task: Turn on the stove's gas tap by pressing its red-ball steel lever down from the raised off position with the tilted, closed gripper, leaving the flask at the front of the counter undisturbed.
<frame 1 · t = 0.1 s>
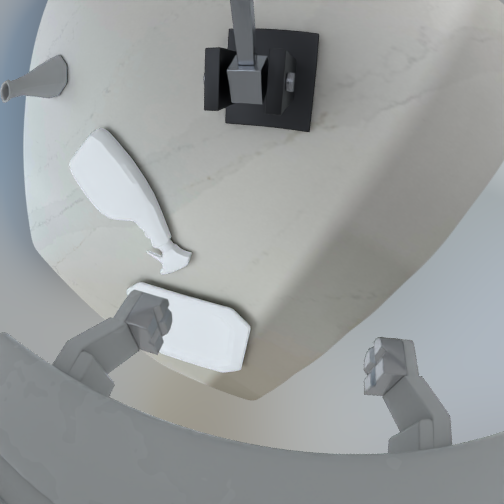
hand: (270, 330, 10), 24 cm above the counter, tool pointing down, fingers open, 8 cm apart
plate: (189, 327, 54), on the counter
flask: (55, 76, 26), on the counter
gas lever: (242, 5, 10), point 14 cm above the counter, hinge at 30.0°
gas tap: (271, 77, 24), on the counter
spray bottle: (135, 203, 38), on the counter
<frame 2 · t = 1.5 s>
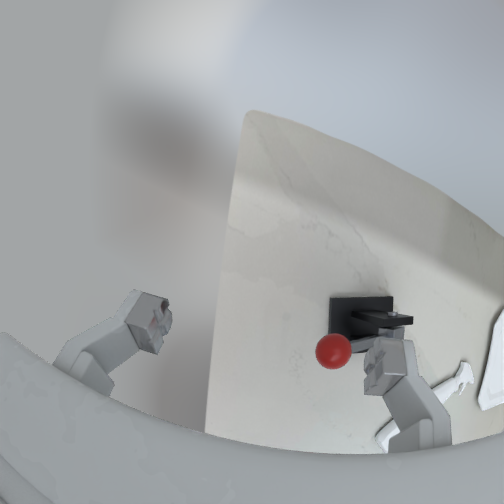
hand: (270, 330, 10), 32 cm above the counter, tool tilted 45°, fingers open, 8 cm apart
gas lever: (365, 343, 27), point 14 cm above the counter, hinge at 30.0°
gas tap: (360, 324, 41), on the counter
spray bottle: (427, 407, 39), on the counter
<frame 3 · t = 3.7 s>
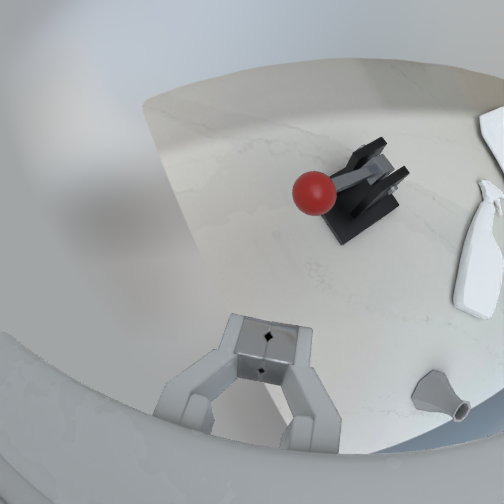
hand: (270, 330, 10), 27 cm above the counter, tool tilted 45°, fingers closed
flask: (429, 390, 32), on the counter
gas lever: (350, 179, 24), point 14 cm above the counter, hinge at 30.0°
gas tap: (353, 200, 37), on the counter
spray bottle: (482, 245, 34), on the counter
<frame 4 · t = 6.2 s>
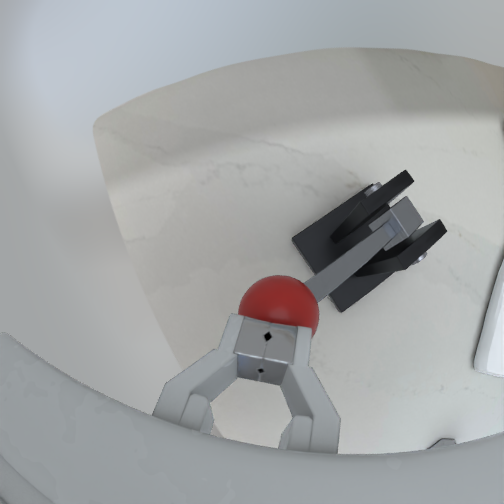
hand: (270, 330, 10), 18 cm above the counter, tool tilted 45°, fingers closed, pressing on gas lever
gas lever: (350, 261, 14), point 14 cm above the counter, hinge at 27.3°, touching gripper
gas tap: (356, 246, 28), on the counter
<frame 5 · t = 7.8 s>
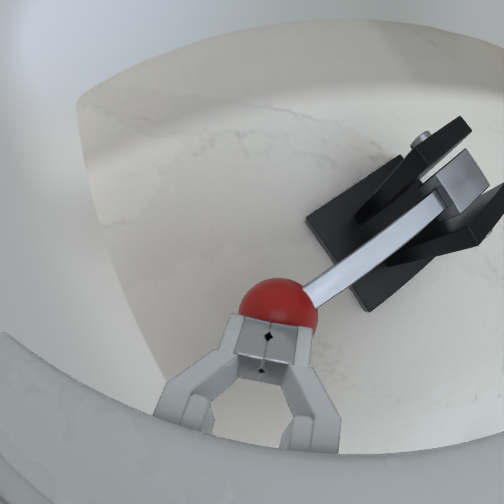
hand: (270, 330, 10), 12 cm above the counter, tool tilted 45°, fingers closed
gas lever: (375, 250, 11), point 10 cm above the counter, hinge at -7.3°, touching gripper
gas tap: (385, 229, 21), on the counter
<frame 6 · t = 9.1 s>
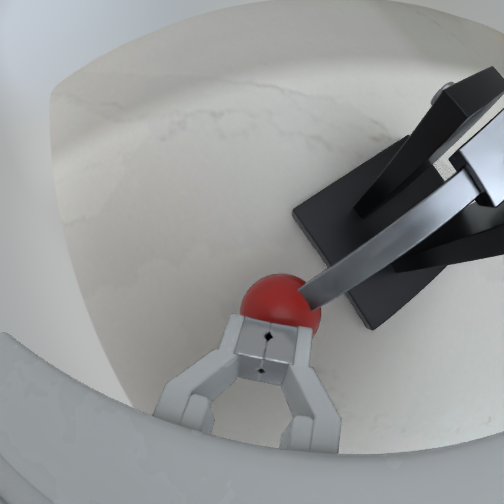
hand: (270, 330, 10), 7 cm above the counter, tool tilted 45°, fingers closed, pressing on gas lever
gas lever: (381, 249, 9), point 8 cm above the counter, hinge at -32.1°, touching gripper
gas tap: (392, 226, 17), on the counter
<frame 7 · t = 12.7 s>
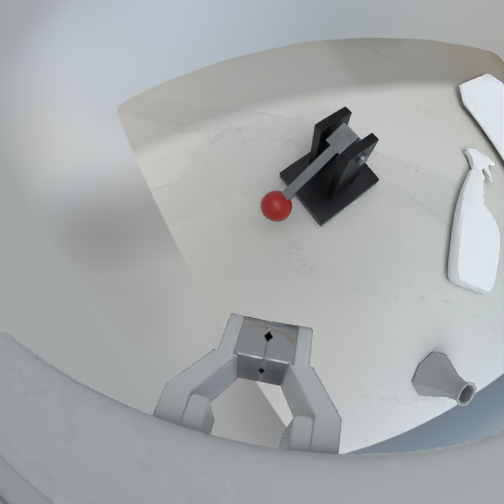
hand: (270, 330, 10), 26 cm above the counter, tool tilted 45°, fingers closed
flask: (431, 374, 31), on the counter
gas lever: (307, 175, 29), point 8 cm above the counter, hinge at -32.4°
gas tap: (329, 178, 36), on the counter
spray bottle: (474, 216, 33), on the counter
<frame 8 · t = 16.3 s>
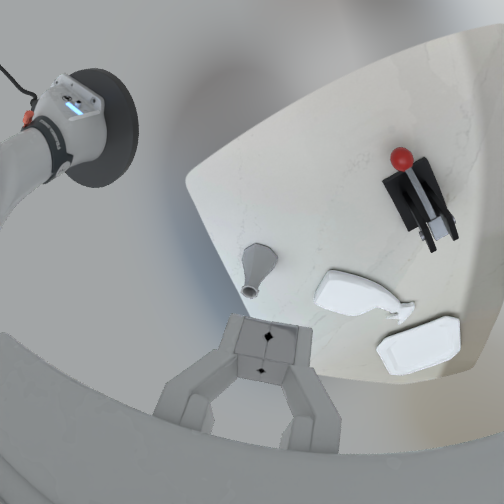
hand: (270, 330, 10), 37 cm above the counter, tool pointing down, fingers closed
plate: (421, 344, 64), on the counter
flask: (260, 257, 56), on the counter
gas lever: (420, 191, 33), point 8 cm above the counter, hinge at -32.4°
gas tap: (416, 194, 40), on the counter
spray bottle: (368, 296, 57), on the counter
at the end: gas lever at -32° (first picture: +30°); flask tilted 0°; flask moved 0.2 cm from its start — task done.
